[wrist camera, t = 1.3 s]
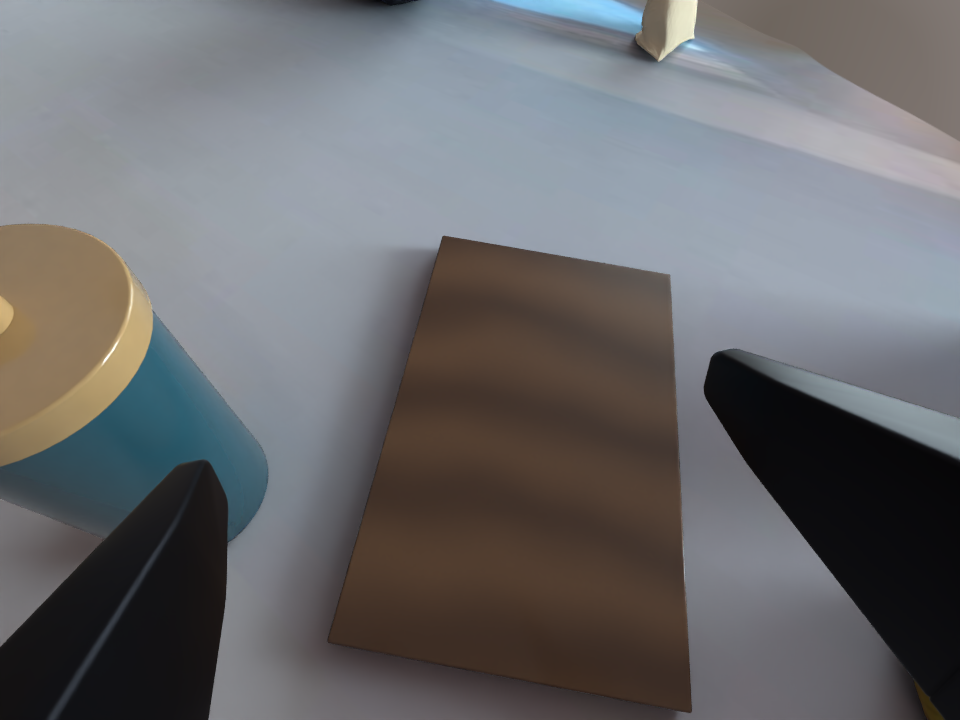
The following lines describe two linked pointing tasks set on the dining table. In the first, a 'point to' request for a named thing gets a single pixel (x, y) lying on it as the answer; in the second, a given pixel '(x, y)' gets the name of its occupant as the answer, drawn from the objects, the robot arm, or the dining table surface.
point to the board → (531, 483)
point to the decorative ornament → (666, 26)
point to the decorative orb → (396, 1)
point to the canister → (102, 390)
